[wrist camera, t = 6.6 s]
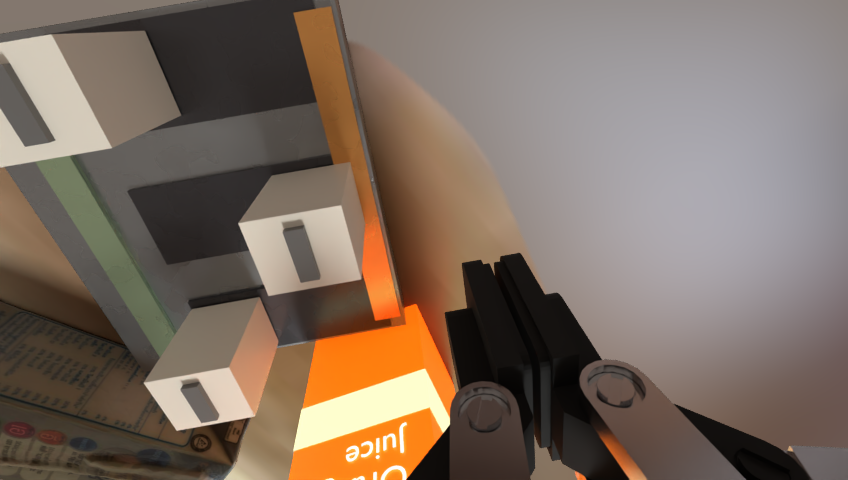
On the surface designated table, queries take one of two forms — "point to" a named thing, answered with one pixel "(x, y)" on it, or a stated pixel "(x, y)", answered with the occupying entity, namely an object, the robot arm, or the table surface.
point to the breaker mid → (306, 229)
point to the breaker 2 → (215, 365)
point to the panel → (217, 173)
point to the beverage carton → (93, 412)
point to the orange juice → (372, 404)
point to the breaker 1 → (78, 94)
